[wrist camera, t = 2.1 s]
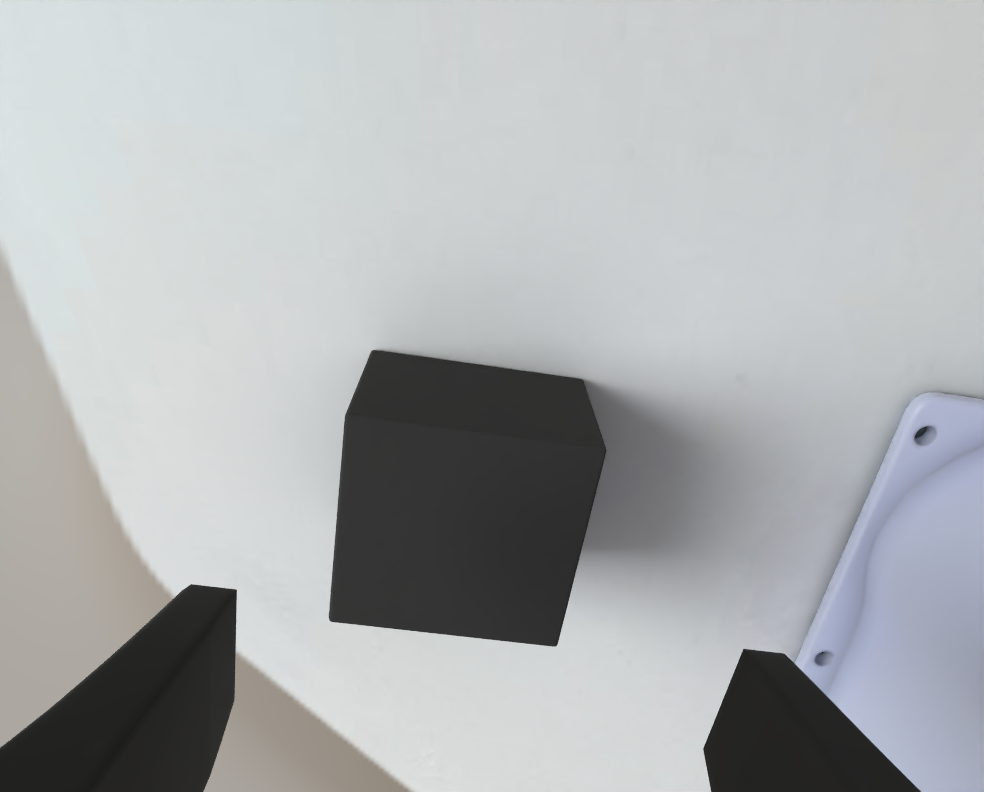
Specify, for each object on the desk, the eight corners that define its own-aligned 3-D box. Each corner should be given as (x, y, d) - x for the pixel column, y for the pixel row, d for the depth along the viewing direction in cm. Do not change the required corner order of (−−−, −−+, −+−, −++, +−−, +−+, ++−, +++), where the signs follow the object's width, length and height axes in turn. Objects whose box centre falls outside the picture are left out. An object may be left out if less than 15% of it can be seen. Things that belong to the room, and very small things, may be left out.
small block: (544, 550, 19) (557, 648, 15) (354, 528, 18) (327, 623, 15) (584, 378, 17) (607, 449, 13) (371, 348, 16) (344, 414, 13)
